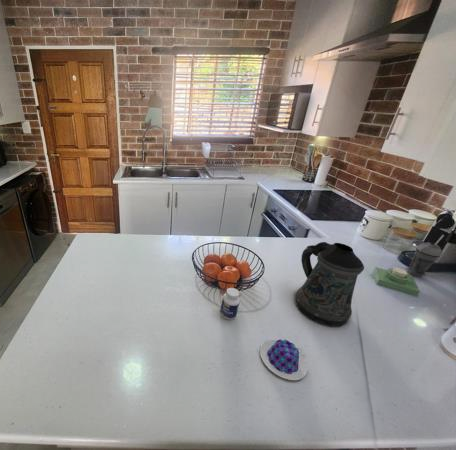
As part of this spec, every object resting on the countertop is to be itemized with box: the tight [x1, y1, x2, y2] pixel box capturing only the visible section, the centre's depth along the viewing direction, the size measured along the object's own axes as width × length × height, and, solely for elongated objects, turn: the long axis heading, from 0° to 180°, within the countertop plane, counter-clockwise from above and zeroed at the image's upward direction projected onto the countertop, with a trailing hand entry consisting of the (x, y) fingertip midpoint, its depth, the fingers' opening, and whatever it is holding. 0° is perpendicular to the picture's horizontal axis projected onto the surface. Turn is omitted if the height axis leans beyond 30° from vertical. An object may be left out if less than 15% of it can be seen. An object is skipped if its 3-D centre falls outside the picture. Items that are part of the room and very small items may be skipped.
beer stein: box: [294, 241, 365, 327], centre depth 82 cm, size 16×19×25 cm
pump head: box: [392, 267, 408, 278], centre depth 97 cm, size 4×4×2 cm
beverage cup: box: [406, 234, 445, 279], centre depth 103 cm, size 7×7×20 cm
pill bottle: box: [219, 287, 241, 321], centre depth 81 cm, size 5×5×10 cm
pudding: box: [259, 339, 308, 381], centre depth 68 cm, size 12×12×5 cm
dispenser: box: [371, 266, 421, 297], centre depth 98 cm, size 12×10×6 cm
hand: (452, 242), depth 85 cm, fingers closed
